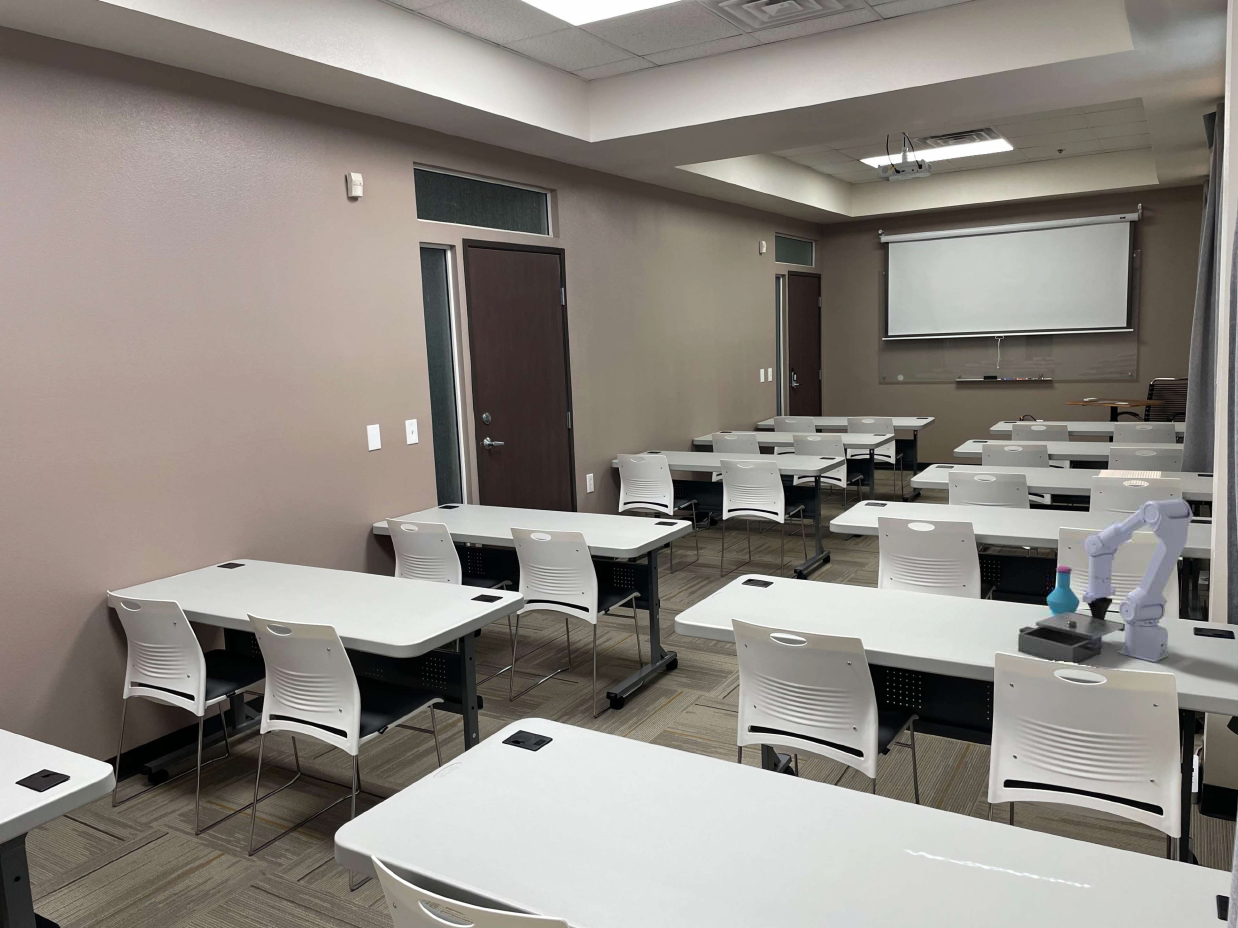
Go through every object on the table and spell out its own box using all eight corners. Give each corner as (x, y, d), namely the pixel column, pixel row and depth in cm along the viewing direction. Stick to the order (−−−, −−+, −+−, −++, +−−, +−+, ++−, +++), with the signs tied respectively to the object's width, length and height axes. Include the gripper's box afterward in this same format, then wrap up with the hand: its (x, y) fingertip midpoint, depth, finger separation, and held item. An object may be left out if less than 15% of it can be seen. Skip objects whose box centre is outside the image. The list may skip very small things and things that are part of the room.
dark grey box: (1112, 656, 232) (1113, 638, 231) (1083, 669, 223) (1084, 650, 223) (1037, 637, 249) (1037, 620, 248) (1008, 648, 240) (1008, 631, 240)
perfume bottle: (1071, 609, 275) (1073, 564, 273) (1084, 618, 265) (1085, 571, 264) (1041, 609, 275) (1043, 564, 274) (1053, 618, 266) (1054, 571, 265)
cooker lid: (1124, 630, 240) (1125, 619, 239) (1093, 643, 230) (1093, 631, 230) (1067, 617, 253) (1067, 607, 252) (1035, 629, 243) (1036, 618, 243)
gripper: (1098, 570, 253) (1097, 614, 254) (1072, 578, 245) (1070, 624, 246) (1123, 574, 247) (1121, 620, 249) (1097, 582, 239) (1095, 630, 241)
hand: (1098, 622), depth 247 cm, fingers closed
